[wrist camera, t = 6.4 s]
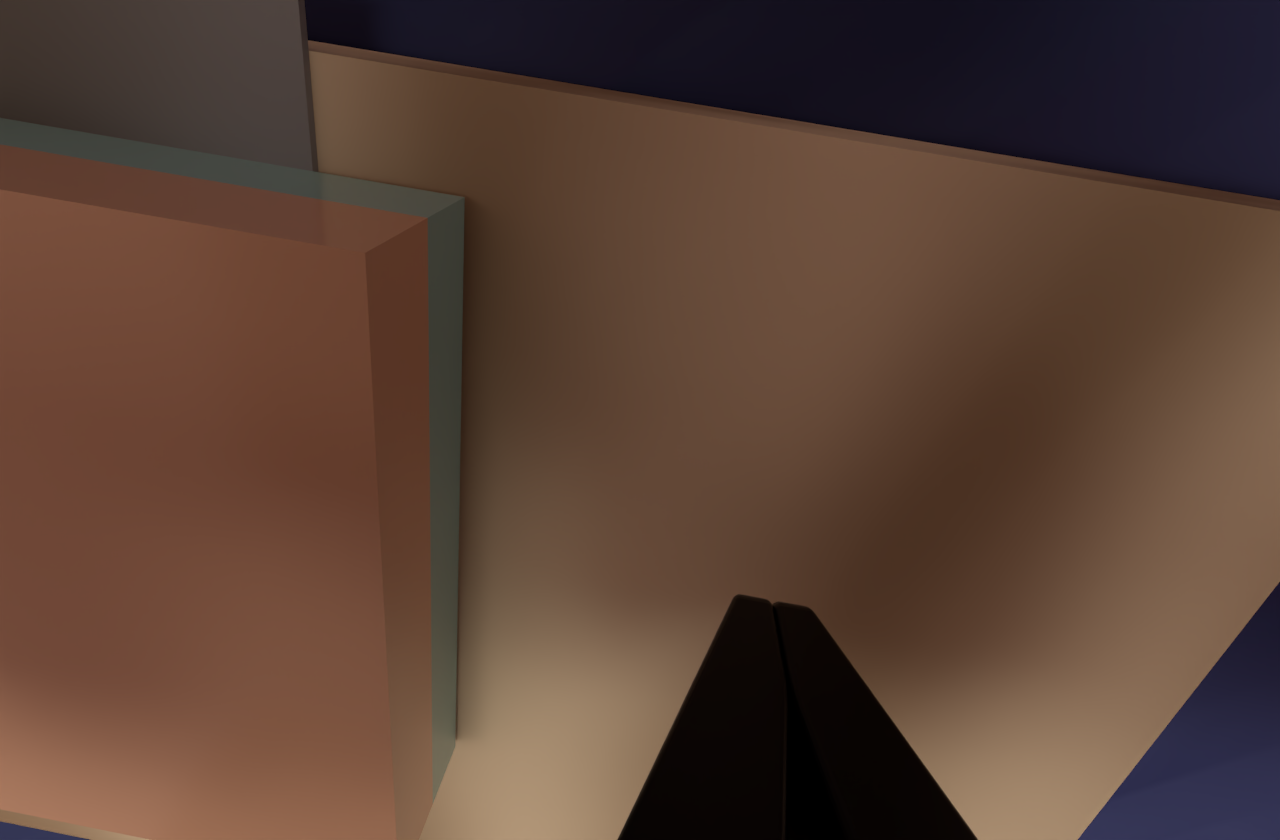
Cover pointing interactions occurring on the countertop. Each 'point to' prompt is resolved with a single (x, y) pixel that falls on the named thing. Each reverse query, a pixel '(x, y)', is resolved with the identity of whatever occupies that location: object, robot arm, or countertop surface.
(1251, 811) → the countertop surface
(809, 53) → the countertop surface
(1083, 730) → the board
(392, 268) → the tile
